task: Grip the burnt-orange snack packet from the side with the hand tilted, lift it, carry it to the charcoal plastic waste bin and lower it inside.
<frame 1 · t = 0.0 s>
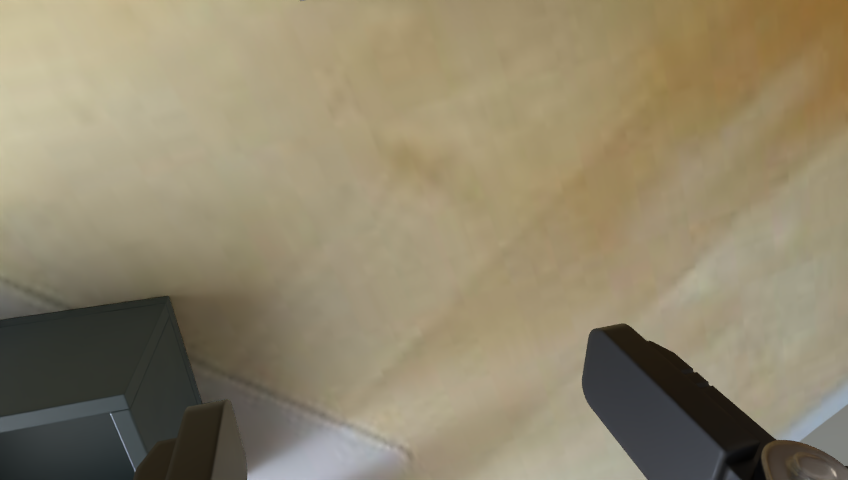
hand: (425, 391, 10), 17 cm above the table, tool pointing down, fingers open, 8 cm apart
bin: (60, 428, 27), on the table
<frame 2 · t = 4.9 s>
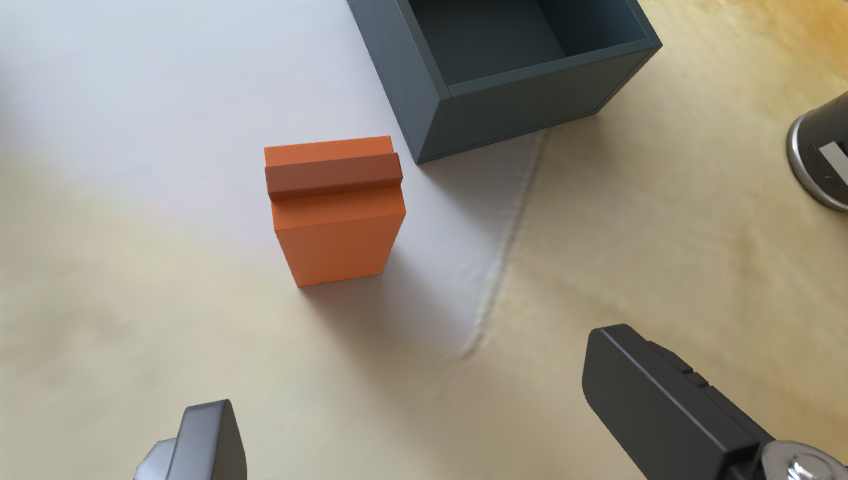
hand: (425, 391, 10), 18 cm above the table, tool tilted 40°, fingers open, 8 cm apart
packet: (335, 253, 29), on the table
bin: (471, 51, 36), on the table
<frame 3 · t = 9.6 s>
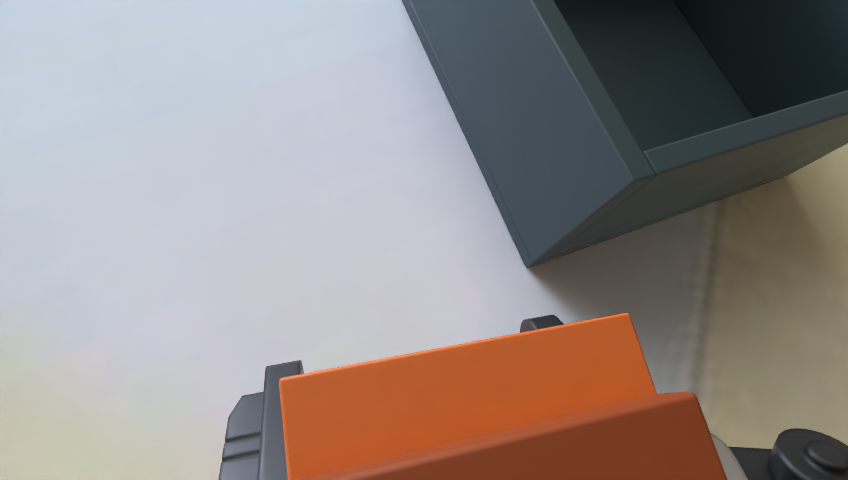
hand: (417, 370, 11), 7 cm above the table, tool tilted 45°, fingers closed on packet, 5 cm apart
packet: (400, 438, 16), on the table, touching gripper
bin: (592, 84, 24), on the table
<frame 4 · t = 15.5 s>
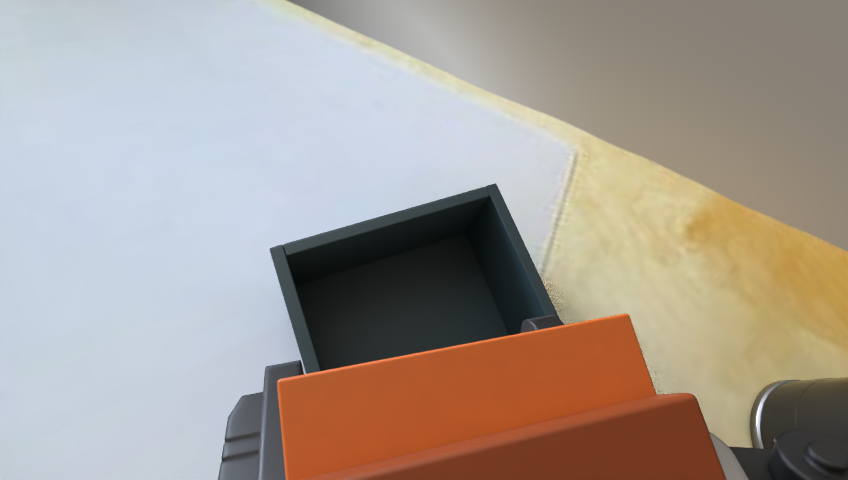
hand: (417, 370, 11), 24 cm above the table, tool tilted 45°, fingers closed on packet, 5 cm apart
packet: (400, 439, 16), point 17 cm above the table, touching gripper
bin: (415, 345, 35), on the table
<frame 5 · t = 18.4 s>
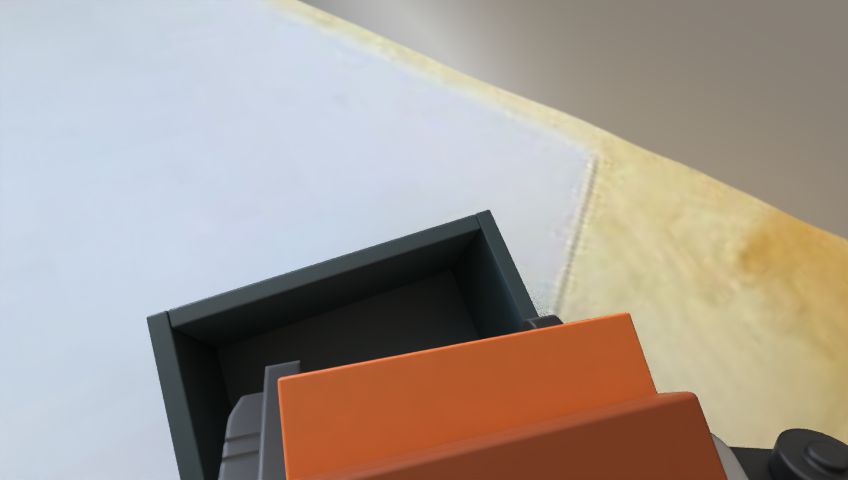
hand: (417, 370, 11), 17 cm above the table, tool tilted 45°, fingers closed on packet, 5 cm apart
packet: (400, 438, 16), point 10 cm above the table, touching gripper
bin: (381, 427, 25), on the table
when the fingers open (7 cm above the table, at t = 21.4 s): packet stays where it is, resting on bin.
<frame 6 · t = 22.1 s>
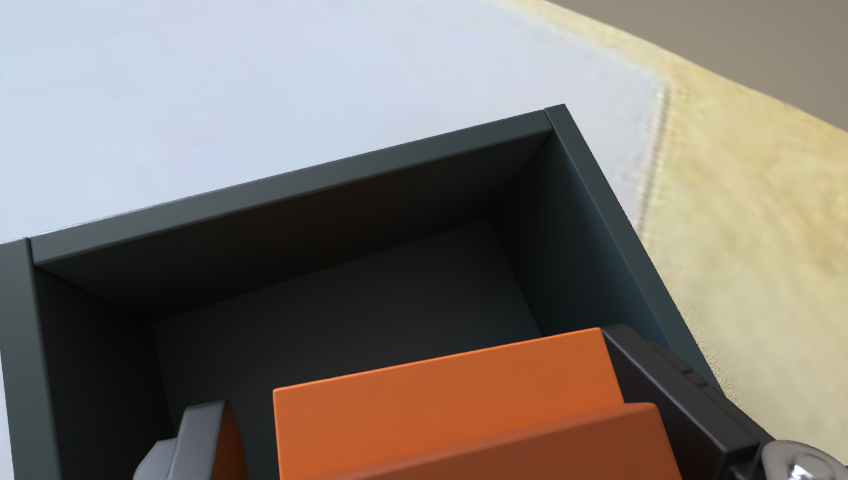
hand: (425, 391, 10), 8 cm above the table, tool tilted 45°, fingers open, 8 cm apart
packet: (393, 441, 17), point 1 cm above the table, touching bin
bin: (393, 438, 17), on the table
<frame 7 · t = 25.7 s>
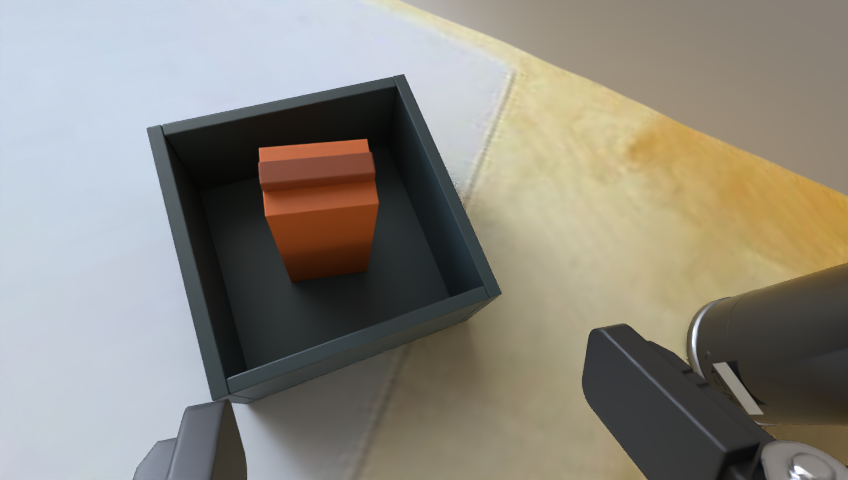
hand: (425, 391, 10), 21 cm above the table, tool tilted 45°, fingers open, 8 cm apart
packet: (326, 252, 32), point 1 cm above the table, touching bin
bin: (328, 255, 33), on the table
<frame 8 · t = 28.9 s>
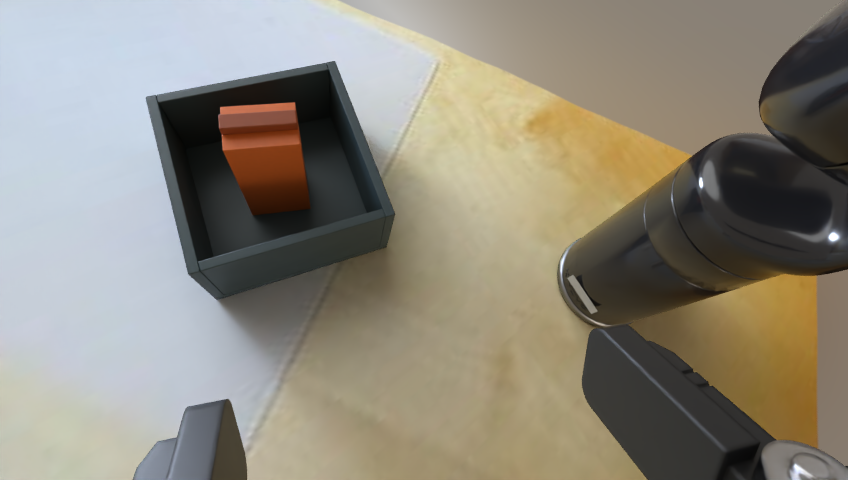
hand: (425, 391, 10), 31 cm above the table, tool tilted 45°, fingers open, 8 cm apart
packet: (280, 194, 43), point 1 cm above the table, touching bin
bin: (282, 197, 44), on the table
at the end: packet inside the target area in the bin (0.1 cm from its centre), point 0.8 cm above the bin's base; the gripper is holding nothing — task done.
